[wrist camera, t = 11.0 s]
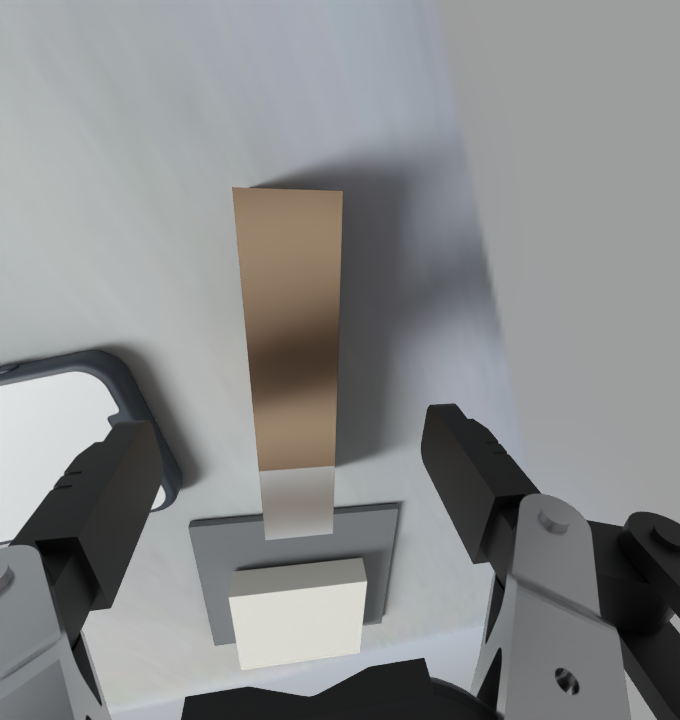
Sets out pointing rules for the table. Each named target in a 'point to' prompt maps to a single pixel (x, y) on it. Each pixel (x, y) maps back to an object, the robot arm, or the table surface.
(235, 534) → the mat
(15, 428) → the phone case
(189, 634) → the table surface
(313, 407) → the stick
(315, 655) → the tile
